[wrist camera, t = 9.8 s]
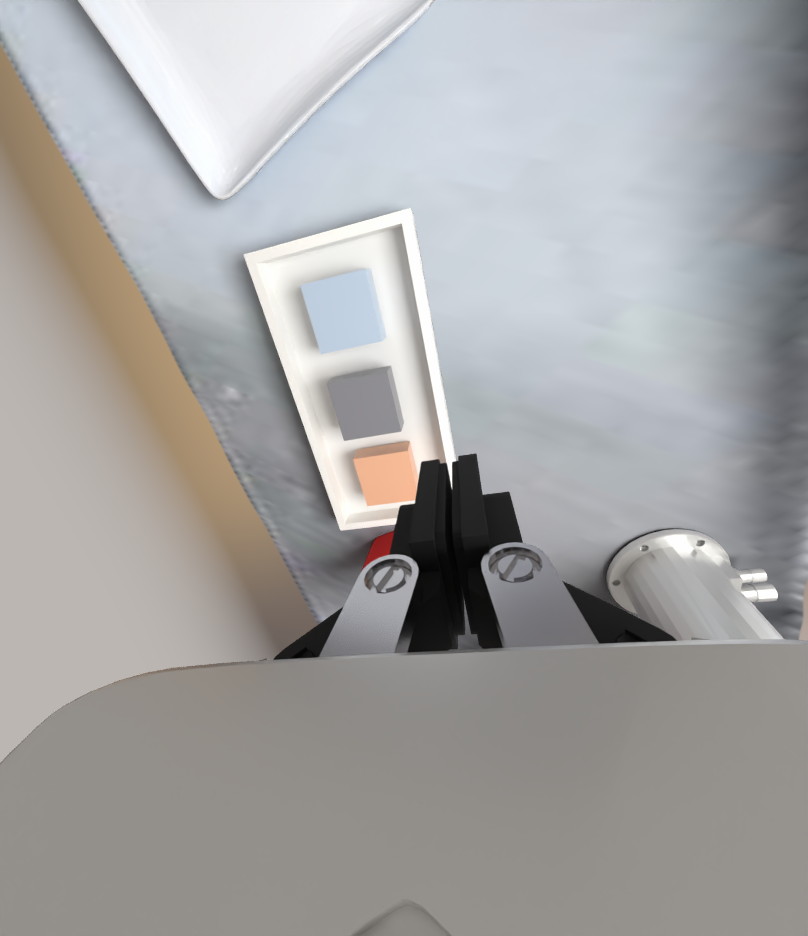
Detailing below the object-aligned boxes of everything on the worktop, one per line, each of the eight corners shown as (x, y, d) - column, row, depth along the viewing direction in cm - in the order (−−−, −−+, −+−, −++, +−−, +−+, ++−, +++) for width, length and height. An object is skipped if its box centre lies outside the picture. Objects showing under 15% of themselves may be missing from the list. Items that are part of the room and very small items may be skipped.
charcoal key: (391, 365, 35) (387, 371, 33) (404, 422, 37) (401, 431, 35) (333, 376, 36) (326, 383, 34) (349, 431, 38) (343, 441, 36)
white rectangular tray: (413, 213, 31) (409, 208, 28) (463, 501, 43) (464, 516, 41) (259, 255, 34) (243, 254, 31) (346, 515, 46) (340, 530, 43)
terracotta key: (410, 441, 39) (407, 450, 37) (420, 487, 41) (419, 499, 39) (358, 449, 40) (352, 459, 38) (371, 494, 42) (367, 506, 40)
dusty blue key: (370, 268, 32) (365, 268, 30) (386, 336, 34) (382, 341, 32) (309, 284, 33) (299, 285, 31) (328, 349, 36) (320, 354, 33)
